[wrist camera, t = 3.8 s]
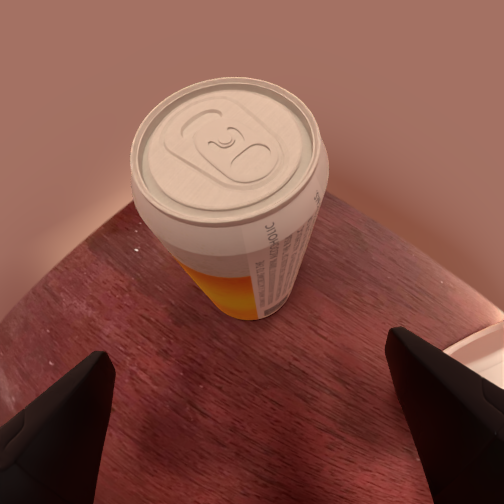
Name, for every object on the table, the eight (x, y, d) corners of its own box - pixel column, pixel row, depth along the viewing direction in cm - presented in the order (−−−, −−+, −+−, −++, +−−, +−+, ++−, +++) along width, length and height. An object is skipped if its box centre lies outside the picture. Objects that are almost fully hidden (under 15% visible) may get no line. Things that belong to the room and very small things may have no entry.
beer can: (250, 223, 23) (229, 51, 9) (310, 278, 22) (377, 137, 8) (190, 279, 22) (85, 150, 8) (249, 339, 21) (213, 294, 6)
